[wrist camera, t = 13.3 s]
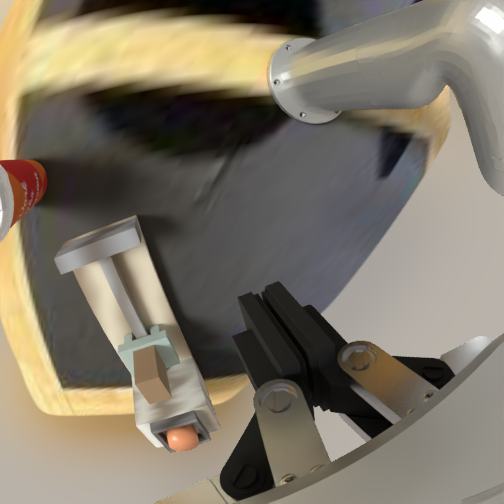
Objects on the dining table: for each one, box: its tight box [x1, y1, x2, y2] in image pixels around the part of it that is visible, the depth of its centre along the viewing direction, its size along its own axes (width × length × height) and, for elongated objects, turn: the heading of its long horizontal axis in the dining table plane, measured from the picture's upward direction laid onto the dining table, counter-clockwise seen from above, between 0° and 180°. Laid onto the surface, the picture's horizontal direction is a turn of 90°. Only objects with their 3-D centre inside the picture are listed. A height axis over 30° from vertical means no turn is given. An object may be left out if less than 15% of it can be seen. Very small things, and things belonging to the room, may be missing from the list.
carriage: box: [118, 325, 180, 404], centre depth 34 cm, size 7×5×9 cm
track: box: [54, 215, 221, 452], centre depth 32 cm, size 10×28×13 cm, turn 12°
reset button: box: [166, 424, 199, 451], centre depth 32 cm, size 4×4×2 cm
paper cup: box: [0, 160, 48, 242], centre depth 20 cm, size 8×8×14 cm
